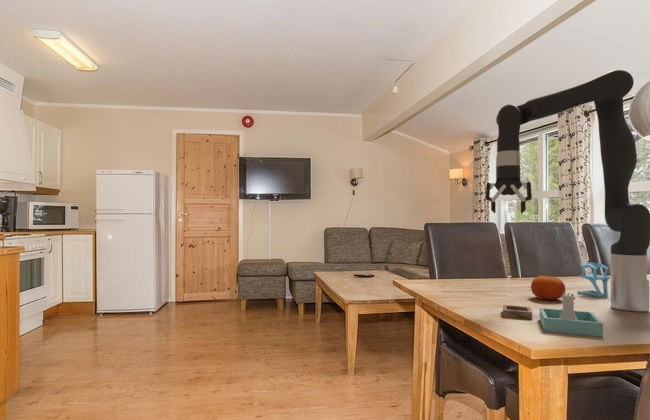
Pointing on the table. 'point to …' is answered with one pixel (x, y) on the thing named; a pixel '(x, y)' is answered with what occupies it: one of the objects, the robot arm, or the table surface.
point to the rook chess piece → (568, 307)
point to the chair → (595, 277)
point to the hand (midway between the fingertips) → (508, 213)
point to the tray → (571, 323)
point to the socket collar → (517, 312)
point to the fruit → (547, 287)
